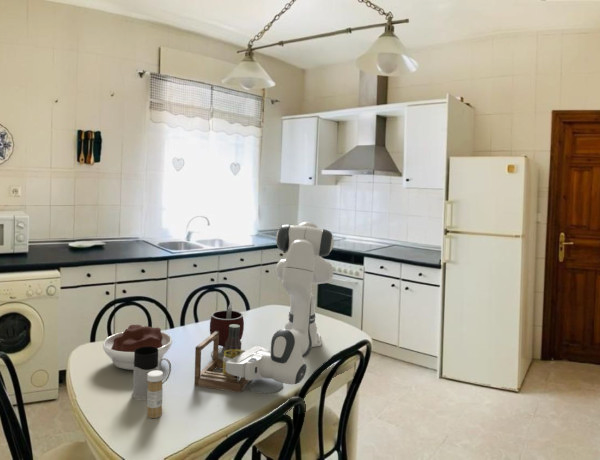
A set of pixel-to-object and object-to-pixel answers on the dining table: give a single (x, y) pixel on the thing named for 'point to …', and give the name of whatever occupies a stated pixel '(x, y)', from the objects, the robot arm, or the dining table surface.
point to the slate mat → (265, 385)
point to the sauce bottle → (232, 344)
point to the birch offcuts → (220, 376)
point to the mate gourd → (225, 326)
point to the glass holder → (145, 370)
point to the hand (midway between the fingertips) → (230, 355)
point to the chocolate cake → (135, 344)
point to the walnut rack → (212, 366)
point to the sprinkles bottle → (154, 394)
